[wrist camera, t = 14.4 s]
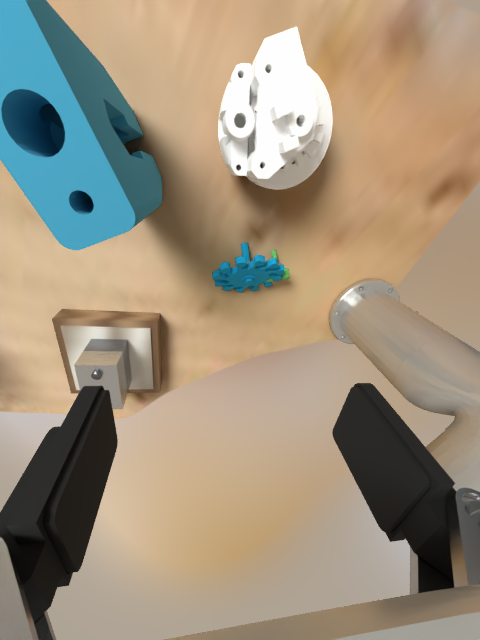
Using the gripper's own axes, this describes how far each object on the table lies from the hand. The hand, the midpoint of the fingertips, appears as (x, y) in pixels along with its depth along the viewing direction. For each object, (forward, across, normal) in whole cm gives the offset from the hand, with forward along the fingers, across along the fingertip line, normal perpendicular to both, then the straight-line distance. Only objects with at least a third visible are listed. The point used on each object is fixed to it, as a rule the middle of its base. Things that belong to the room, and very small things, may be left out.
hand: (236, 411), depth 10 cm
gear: (+31, -6, +3) cm, 31 cm away
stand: (+30, +14, +19) cm, 38 cm away
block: (+31, +10, -9) cm, 33 cm away
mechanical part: (+31, -6, -13) cm, 34 cm away
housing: (+27, +14, +19) cm, 36 cm away
